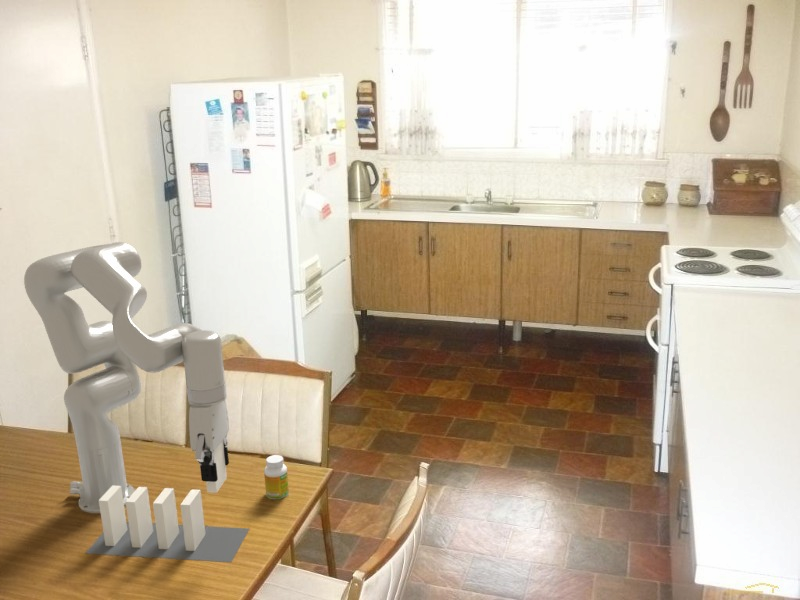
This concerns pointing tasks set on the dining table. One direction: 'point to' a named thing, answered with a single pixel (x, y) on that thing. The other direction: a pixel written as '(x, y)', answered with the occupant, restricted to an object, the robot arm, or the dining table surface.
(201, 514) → the domino
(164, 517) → the domino
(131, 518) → the domino
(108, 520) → the domino
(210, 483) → the domino
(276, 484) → the supplement bottle
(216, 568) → the dining table surface
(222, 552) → the mat
